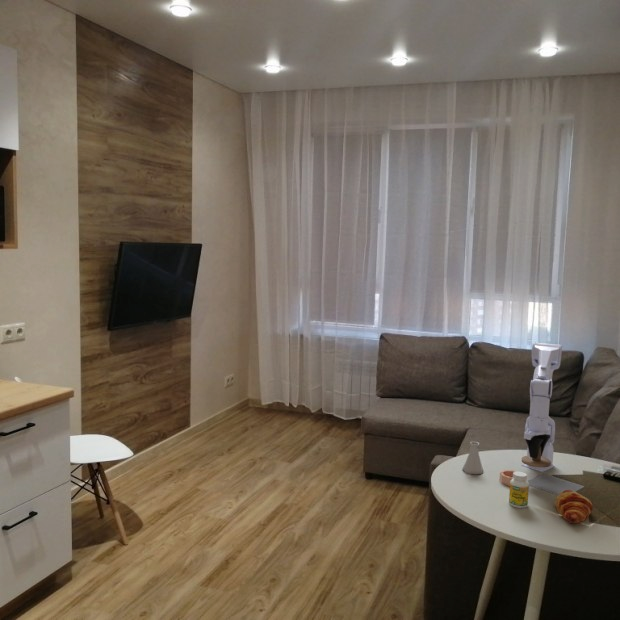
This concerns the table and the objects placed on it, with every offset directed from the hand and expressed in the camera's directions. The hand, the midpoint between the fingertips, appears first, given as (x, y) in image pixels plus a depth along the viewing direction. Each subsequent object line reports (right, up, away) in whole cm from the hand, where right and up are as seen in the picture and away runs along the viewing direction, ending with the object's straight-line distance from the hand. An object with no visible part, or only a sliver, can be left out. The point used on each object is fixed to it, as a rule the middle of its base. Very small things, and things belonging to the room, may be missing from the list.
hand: (535, 456), depth 198 cm
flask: (-17, -8, +11) cm, 22 cm away
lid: (0, -2, 0) cm, 2 cm away
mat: (+6, -10, +1) cm, 11 cm away
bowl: (-7, -9, +2) cm, 12 cm away
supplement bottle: (-11, -11, -15) cm, 22 cm away
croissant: (+4, -12, -19) cm, 23 cm away
